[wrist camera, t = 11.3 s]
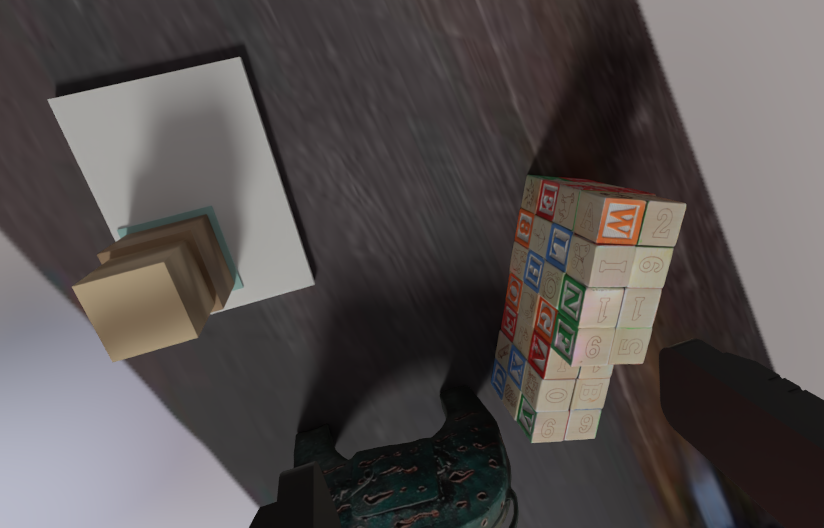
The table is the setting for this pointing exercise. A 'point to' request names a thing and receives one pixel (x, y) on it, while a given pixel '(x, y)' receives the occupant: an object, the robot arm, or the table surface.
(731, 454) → the robot arm
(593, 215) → the stack of blocks
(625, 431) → the table surface
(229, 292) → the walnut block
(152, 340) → the oak cube
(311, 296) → the table surface
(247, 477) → the table surface
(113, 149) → the build board
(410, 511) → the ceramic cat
